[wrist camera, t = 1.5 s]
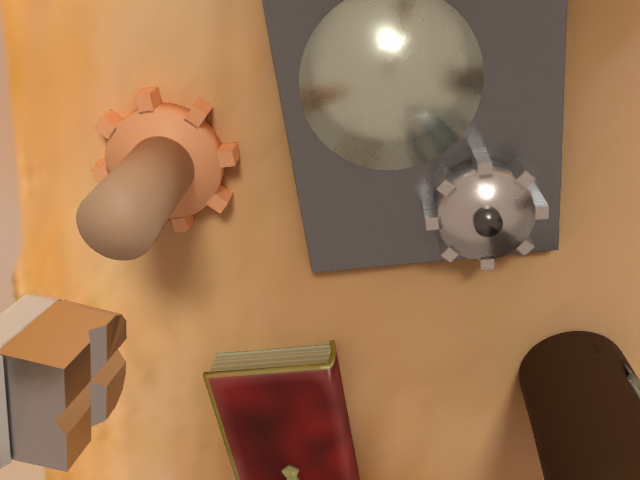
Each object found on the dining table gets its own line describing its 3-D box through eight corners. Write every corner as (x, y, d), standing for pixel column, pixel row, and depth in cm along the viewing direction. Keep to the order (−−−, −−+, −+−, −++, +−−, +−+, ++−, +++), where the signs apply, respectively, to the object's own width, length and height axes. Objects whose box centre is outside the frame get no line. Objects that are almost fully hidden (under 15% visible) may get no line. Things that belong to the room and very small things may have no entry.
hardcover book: (336, 337, 57) (333, 367, 53) (363, 490, 67) (363, 524, 63) (212, 347, 59) (202, 377, 55) (257, 496, 69) (250, 529, 65)
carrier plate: (259, -38, 42) (245, -30, 37) (563, -87, 39) (590, -86, 34) (313, 263, 53) (308, 299, 48) (553, 240, 50) (572, 276, 45)
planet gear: (80, 97, 47) (-3, 151, 37) (222, 77, 46) (178, 128, 35) (124, 227, 53) (62, 307, 42) (252, 213, 51) (222, 293, 41)
